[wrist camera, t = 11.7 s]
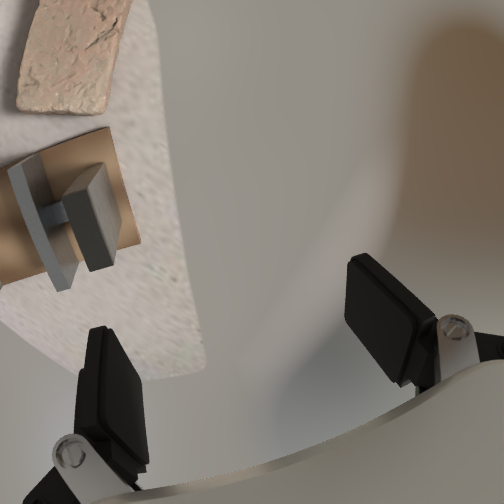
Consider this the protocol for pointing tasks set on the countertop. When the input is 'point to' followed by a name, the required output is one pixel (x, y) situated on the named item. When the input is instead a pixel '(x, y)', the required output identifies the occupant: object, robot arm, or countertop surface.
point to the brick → (71, 56)
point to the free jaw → (68, 218)
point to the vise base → (60, 179)
